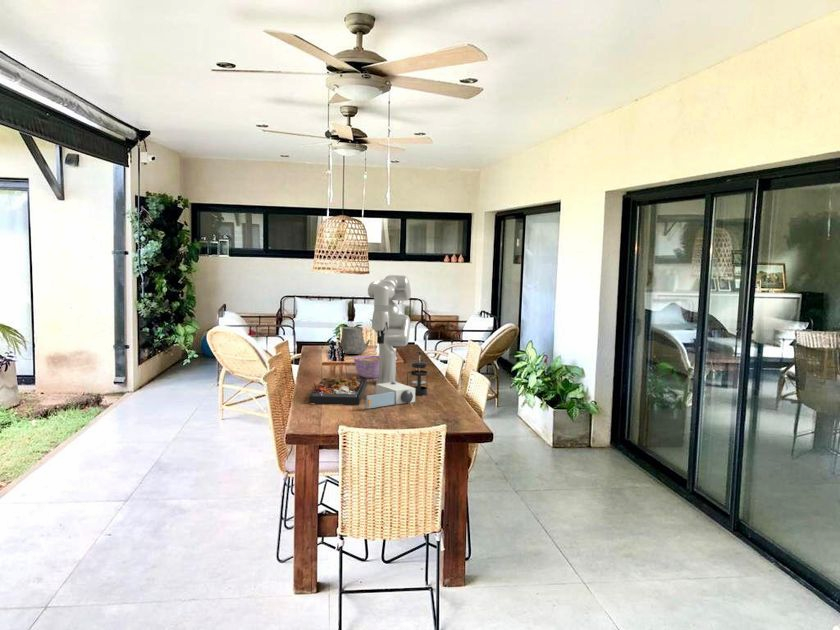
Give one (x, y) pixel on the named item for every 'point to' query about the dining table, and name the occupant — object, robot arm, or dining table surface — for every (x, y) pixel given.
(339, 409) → the dining table surface
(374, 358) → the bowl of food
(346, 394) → the food platter
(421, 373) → the french press
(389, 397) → the side door
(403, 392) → the grey box with knob
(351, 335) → the vessel
